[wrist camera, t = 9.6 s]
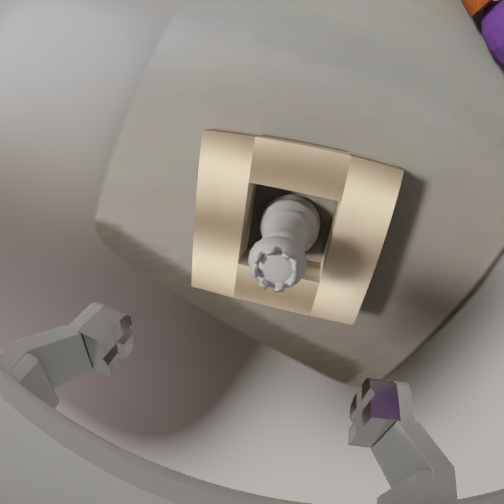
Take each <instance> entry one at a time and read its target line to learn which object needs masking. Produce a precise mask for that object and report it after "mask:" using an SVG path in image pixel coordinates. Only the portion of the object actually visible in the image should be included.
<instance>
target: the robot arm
mask: <svg viewBox="0 0 504 504" xmlns="http://www.w3.org/2000/svg"><path fill="white" fill-rule="evenodd" d="M131 324H132V322H131V317H130V316H128V315H126V314H124V313H121V312H119V311H117V310H114V309H111V308H110V307H107V306H105V305H102V304H100V303H98V302H94V303H91V304H90V305H89V306H88V307H87V308H86V309H85V310H84V311H83V312H82V313H81V314H80V315H79V316H78V317H77V318H76V319H75V320H74V321H73V322H72V323H71V324H70V325H69V326H65V325H64V326H61V327H57V328H54V329H51V330H47V331H44V332H41V333H38V334H34V335H31V336H28V337H25V338H22V339H18V340H15V341H13V342H12V343H11V344H10V345H9V346H8V347H7V348H6V349H5V350H4V351H3V352H2V353H1V354H0V504H310V503H302V502H293V501H287V500H282V499H276V498H270V497H265V496H260V495H256V494H251V493H247V492H243V491H238V490H234V489H231V488H227V487H223V486H220V485H216V484H213V483H210V482H206V481H203V480H200V479H197V478H194V477H191V476H188V475H185V474H183V473H180V472H177V471H174V470H172V469H169V468H167V467H164V466H161V465H159V464H157V463H154V462H152V461H149V460H147V459H145V458H143V457H140V456H138V455H136V454H134V453H132V452H130V451H128V450H125V449H123V448H121V447H119V446H117V445H115V444H113V443H111V442H110V441H108V440H106V439H104V438H102V437H100V436H98V435H97V434H95V433H93V432H91V431H89V430H88V429H86V428H84V427H83V426H81V425H79V424H78V423H76V422H74V421H73V420H71V419H69V418H68V417H66V416H65V415H63V414H62V413H60V412H59V411H57V410H56V409H55V407H56V406H57V404H58V403H59V398H58V396H57V395H56V393H55V391H54V389H55V388H57V387H59V386H61V385H64V384H65V383H68V382H70V381H71V380H74V379H76V378H78V377H80V376H81V375H84V374H86V373H87V372H90V371H92V370H93V369H95V370H97V371H99V372H101V373H104V374H106V375H108V376H110V377H112V376H113V374H114V373H115V372H116V371H117V369H118V368H119V367H120V365H121V361H120V359H122V358H125V357H127V356H128V354H129V353H130V352H131V350H132V347H133V344H134V334H133V332H132V330H131V329H130V328H129V326H130V325H131ZM349 418H350V419H351V421H352V422H353V424H352V425H351V427H350V428H349V442H348V444H349V445H353V446H362V447H370V448H371V450H372V452H373V454H374V456H375V458H376V460H377V462H378V464H379V465H380V467H381V469H382V471H383V473H384V475H385V477H386V479H387V481H388V483H389V485H390V486H391V489H390V490H388V491H387V492H385V493H383V494H382V495H380V496H379V497H378V498H377V504H504V489H501V490H498V491H494V492H490V493H486V494H482V495H478V496H473V497H469V498H463V499H458V500H457V492H456V479H455V470H454V466H453V465H452V464H451V462H450V461H449V460H448V459H447V457H446V456H445V455H444V453H443V452H442V451H441V450H440V449H439V447H438V446H437V445H436V443H435V442H434V441H433V439H432V438H431V437H430V436H429V434H428V433H427V432H426V431H425V429H424V428H423V427H422V426H421V424H420V423H419V422H415V417H414V410H413V403H412V397H411V391H410V385H409V384H408V383H403V382H394V381H388V380H380V379H373V378H366V379H365V380H364V382H363V383H362V390H361V391H359V392H357V393H356V395H355V396H354V398H353V401H352V403H351V407H350V416H349Z"/></svg>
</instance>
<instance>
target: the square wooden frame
mask: <svg viewBox="0 0 504 504" xmlns="http://www.w3.org/2000/svg"><path fill="white" fill-rule="evenodd" d="M403 174H404V170H402V169H401V168H399V167H398V166H396V165H395V164H393V163H389V162H386V161H382V160H379V159H375V158H372V157H368V156H364V155H360V154H356V153H352V152H348V151H344V150H340V149H336V148H331V147H327V146H322V145H318V144H313V143H308V142H303V141H298V140H293V139H287V138H282V137H276V136H270V135H264V134H258V133H251V132H244V131H237V130H229V129H221V128H215V129H207V130H203V131H202V141H201V150H200V161H199V171H198V183H197V195H196V209H195V224H194V240H193V260H192V284H191V286H192V287H196V288H200V289H203V290H207V291H211V292H215V293H218V294H222V295H226V296H230V297H234V298H238V299H242V300H246V301H250V302H254V303H258V304H262V305H266V306H270V307H274V308H278V309H283V310H287V311H291V312H296V313H300V314H304V315H309V316H313V317H318V318H322V319H327V320H332V321H336V322H341V323H346V324H351V325H353V324H354V322H355V319H356V317H357V314H358V312H359V309H360V307H361V304H362V302H363V299H364V297H365V294H366V292H367V289H368V286H369V284H370V281H371V278H372V275H373V273H374V270H375V267H376V264H377V261H378V258H379V256H380V253H381V250H382V247H383V244H384V240H385V237H386V234H387V231H388V228H389V224H390V221H391V218H392V214H393V211H394V208H395V204H396V200H397V197H398V193H399V189H400V186H401V182H402V178H403ZM257 184H260V185H265V186H270V187H275V188H280V189H285V190H290V191H294V192H299V193H304V194H308V195H313V196H317V197H322V198H326V199H330V200H334V201H337V202H336V206H335V210H334V214H333V219H332V223H331V227H330V231H329V235H328V238H327V242H326V246H325V250H324V254H323V257H322V261H321V264H320V263H316V262H312V261H307V260H306V261H307V268H306V272H305V275H304V277H303V278H302V279H301V280H300V281H299V283H297V284H295V285H293V286H292V288H291V287H290V288H284V292H275V288H271V287H267V289H266V290H264V289H263V288H261V287H260V286H258V285H259V281H257V279H256V278H253V277H252V274H251V271H250V267H249V264H248V258H249V252H250V250H251V249H252V248H250V247H248V241H249V235H250V228H251V221H252V214H253V207H254V200H255V194H256V187H257Z"/></svg>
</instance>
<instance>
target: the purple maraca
mask: <svg viewBox="0 0 504 504" xmlns="http://www.w3.org/2000/svg"><path fill="white" fill-rule="evenodd" d="M461 1H462V3H463V5H464V6H465V8H466V10H467V12H468V14H469V16H470V17H472V16H474V15H475V14H477V13H479V12H481V11H483V10H484V12H483V16H482V19H481V28H482V36H483V38H484V40H485V42H486V44H487V47H488V49H489V51H490V52H491V53H492V54H493V56H494V57H495V58H496V59H497V60H498V62H499V63H500V64H502V65H503V66H504V0H498V1H493V0H461Z"/></svg>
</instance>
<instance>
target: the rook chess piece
mask: <svg viewBox="0 0 504 504" xmlns="http://www.w3.org/2000/svg"><path fill="white" fill-rule="evenodd" d="M320 225H321V224H320V219H319V213H318V212H317V210H316V209H315V207H314V206H313V204H312V203H310V202H309V201H307V200H306V199H304V198H303V197H300V196H295V195H291V194H289V195H284V196H278V197H277V198H275V199H274V200H272V201H271V202H269V203H268V205H267V206H266V208H265V209H264V211H263V214H262V216H261V221H260V231H261V235H262V239H261V240H259V241H258V242H256V243H255V244H254V246H253V247H252V249H251V250H250V252H249V258H248V264H249V267H250V271H251V274H252V277H253V278H256V279H257V281H259V285H258V286H260V287H261V288H263V289H264V290H266V289H267V287H271V288H275V292H284V288H290V287H291V288H292V286H293V285H295V284H297V283H299V281H300V280H301V279H302V278H303V277H304V275H305V272H306V268H307V261H306V256H305V251H307V250H309V249H310V248H311V246H312V245H313V244H314V243H315V241H316V240H317V237H318V234H319V229H320Z"/></svg>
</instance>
